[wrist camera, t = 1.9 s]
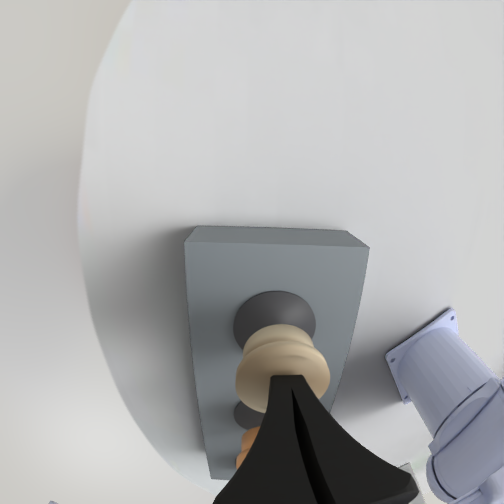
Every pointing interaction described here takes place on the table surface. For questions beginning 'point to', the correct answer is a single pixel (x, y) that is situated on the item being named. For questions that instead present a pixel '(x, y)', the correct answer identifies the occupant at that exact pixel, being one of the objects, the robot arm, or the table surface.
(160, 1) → the table surface
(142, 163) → the table surface
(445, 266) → the table surface
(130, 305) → the table surface
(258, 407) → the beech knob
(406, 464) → the skincare box
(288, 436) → the robot arm
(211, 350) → the console
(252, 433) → the orange knob
